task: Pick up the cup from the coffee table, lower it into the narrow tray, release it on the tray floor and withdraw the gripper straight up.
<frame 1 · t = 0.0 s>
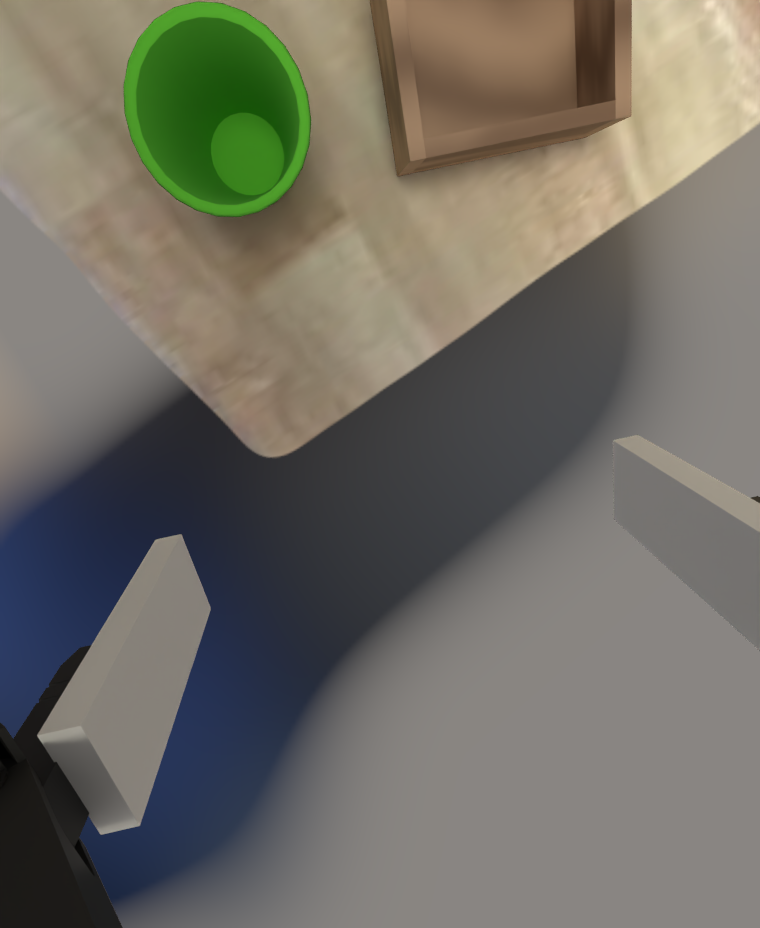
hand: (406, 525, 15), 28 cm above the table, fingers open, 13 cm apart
cup: (249, 157, 35), on the table
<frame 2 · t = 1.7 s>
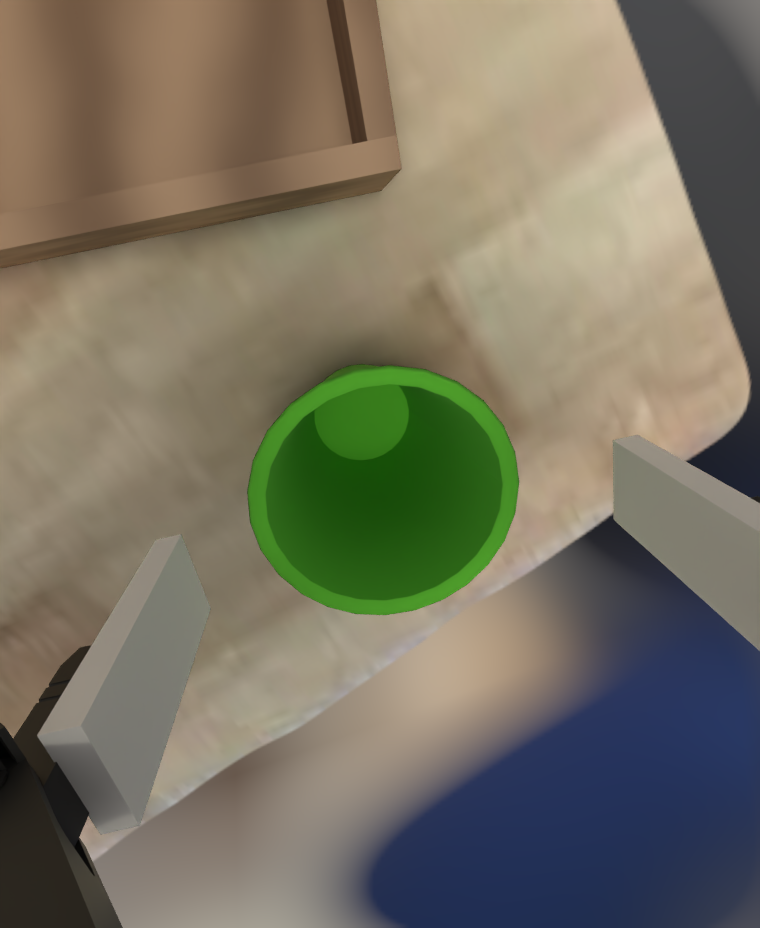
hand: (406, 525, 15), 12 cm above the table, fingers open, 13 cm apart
tray: (74, 48, 20), on the table
cup: (360, 411, 27), on the table
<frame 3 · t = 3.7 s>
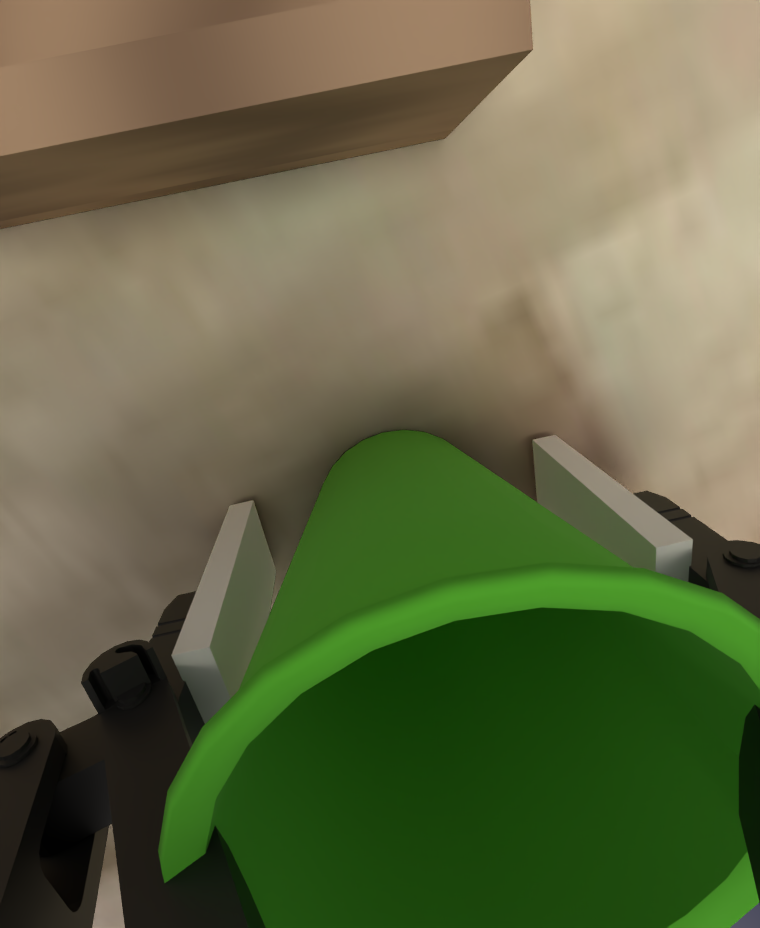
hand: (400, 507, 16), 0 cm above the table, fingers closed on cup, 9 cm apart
cup: (398, 498, 17), on the table, touching gripper
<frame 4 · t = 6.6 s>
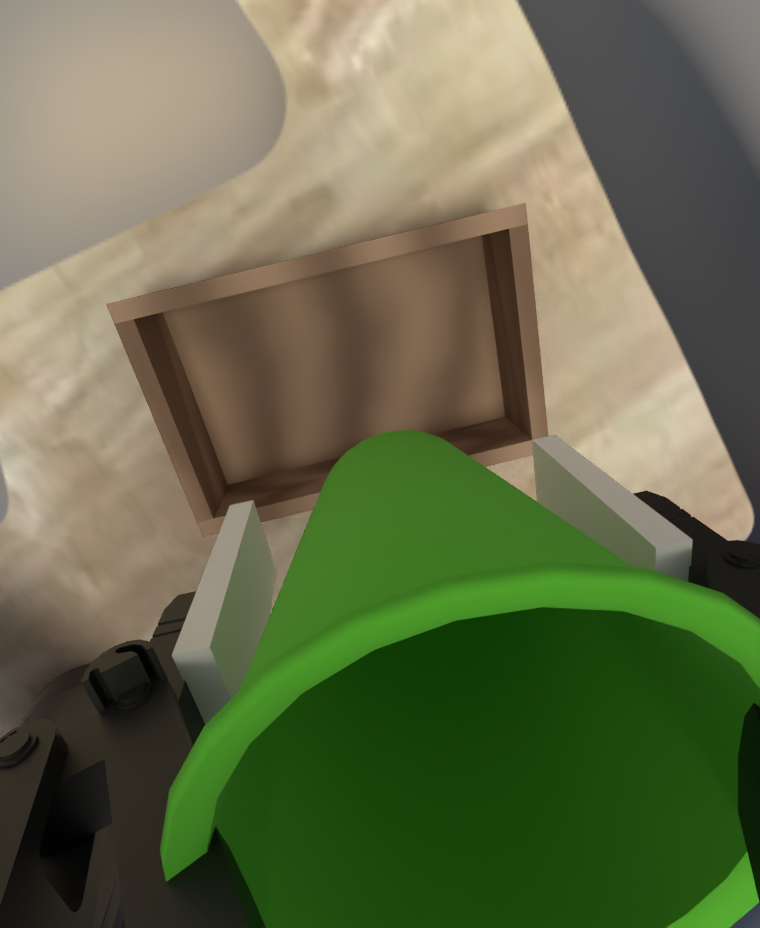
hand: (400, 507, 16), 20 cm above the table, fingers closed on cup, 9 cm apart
tray: (345, 364, 34), on the table
cup: (398, 498, 17), point 19 cm above the table, touching gripper
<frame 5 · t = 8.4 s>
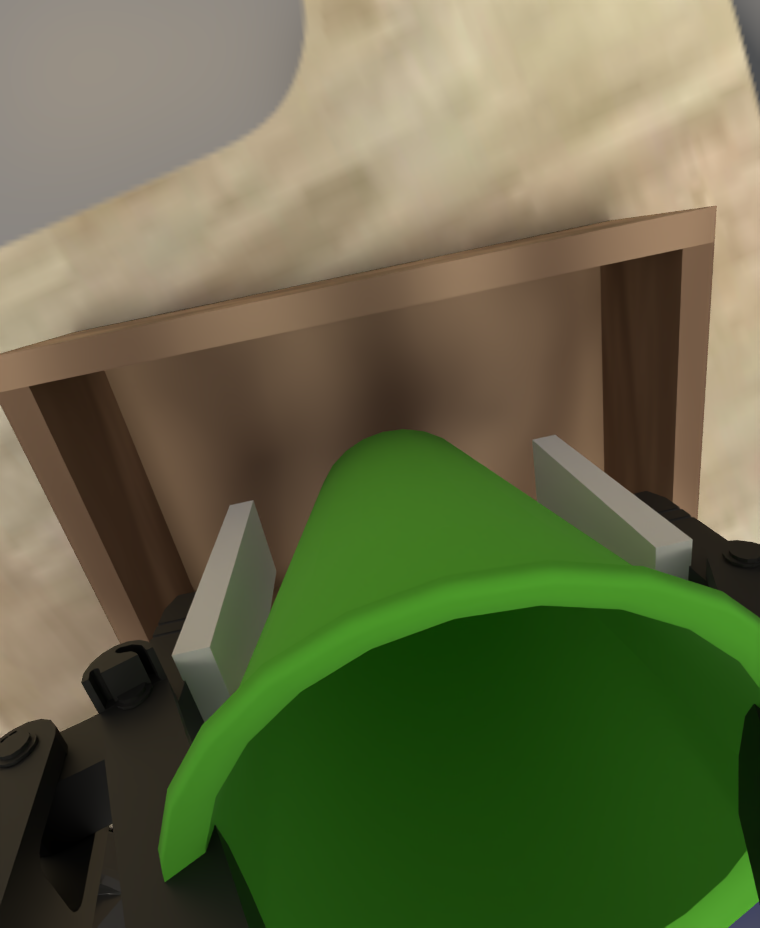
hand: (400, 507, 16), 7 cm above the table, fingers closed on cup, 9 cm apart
tray: (378, 437, 23), on the table
cup: (397, 497, 17), point 6 cm above the table, touching gripper
when the fingers open (3 cm above the table, at t = 9.7 s): cup drops 1 cm, resting on tray.
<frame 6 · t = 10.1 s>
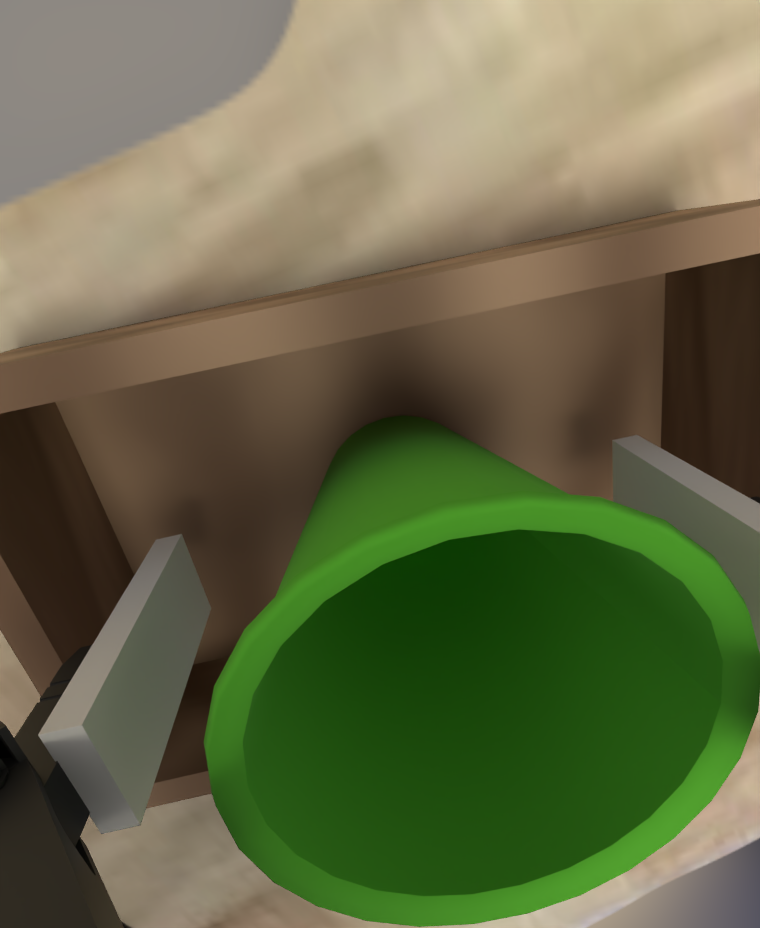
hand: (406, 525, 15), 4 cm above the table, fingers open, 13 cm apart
tray: (390, 471, 19), on the table
cup: (398, 480, 18), point 1 cm above the table, touching tray
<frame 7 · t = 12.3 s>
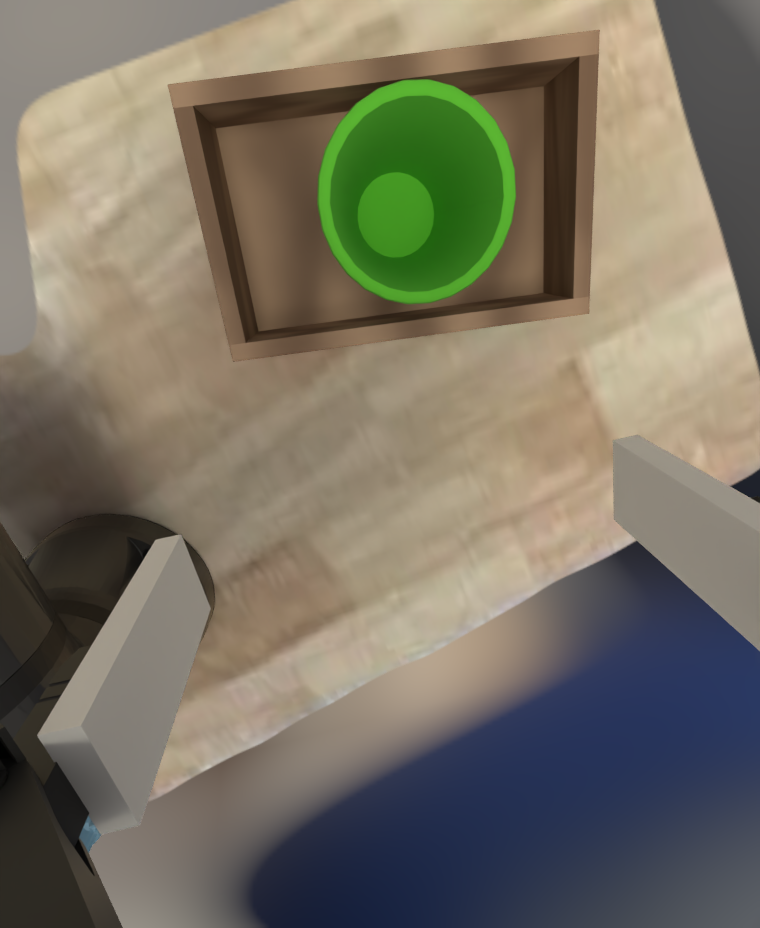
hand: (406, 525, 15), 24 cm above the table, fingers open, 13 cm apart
tray: (390, 217, 34), on the table
cup: (394, 217, 33), point 1 cm above the table, touching tray
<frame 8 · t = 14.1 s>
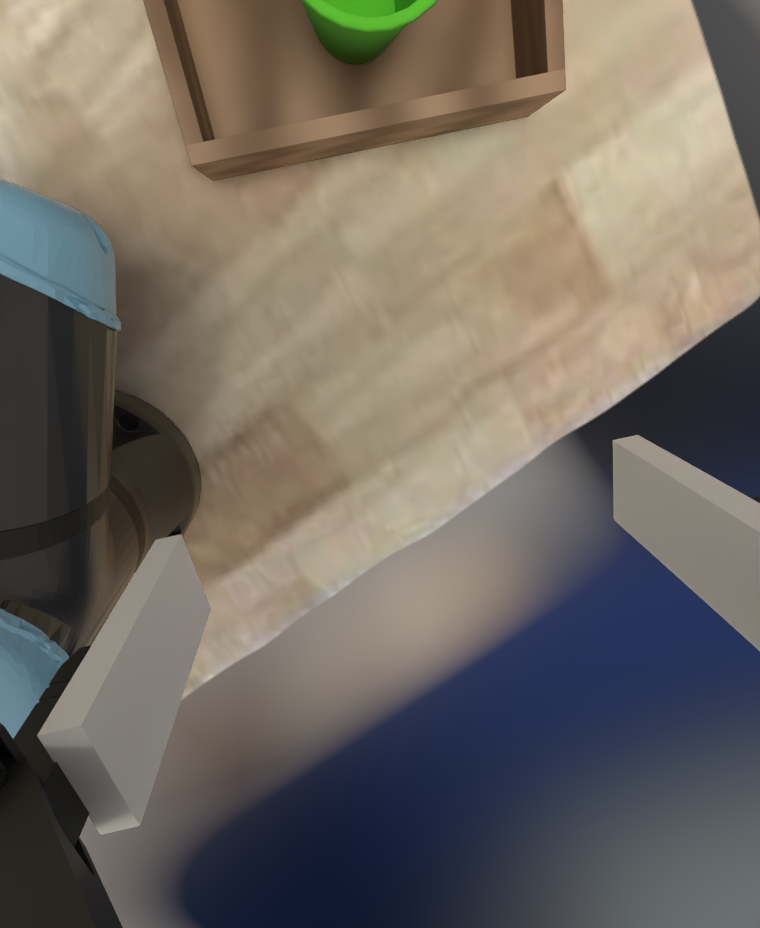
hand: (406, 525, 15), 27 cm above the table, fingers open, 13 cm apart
tray: (349, 21, 32), on the table
cup: (353, 15, 31), point 1 cm above the table, touching tray
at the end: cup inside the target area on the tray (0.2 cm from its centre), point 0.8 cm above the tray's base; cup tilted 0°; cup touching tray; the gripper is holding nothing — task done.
